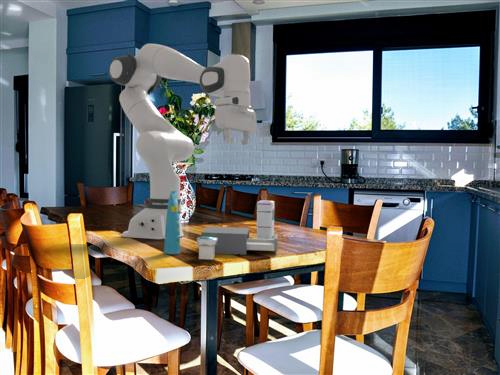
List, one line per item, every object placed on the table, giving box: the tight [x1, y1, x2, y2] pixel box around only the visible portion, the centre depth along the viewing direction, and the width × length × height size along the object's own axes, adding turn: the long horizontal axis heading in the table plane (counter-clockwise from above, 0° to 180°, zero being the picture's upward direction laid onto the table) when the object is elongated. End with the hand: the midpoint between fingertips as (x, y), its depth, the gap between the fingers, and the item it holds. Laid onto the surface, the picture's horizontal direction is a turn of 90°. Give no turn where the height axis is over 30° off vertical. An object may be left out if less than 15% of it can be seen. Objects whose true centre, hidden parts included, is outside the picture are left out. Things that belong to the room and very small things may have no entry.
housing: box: [200, 226, 250, 256], centre depth 147 cm, size 14×14×6 cm
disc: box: [196, 236, 218, 247], centre depth 133 cm, size 6×6×2 cm
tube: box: [163, 190, 181, 255], centre depth 138 cm, size 7×5×19 cm, turn 3°
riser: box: [198, 245, 216, 260], centre depth 133 cm, size 4×4×4 cm
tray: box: [246, 233, 279, 252], centre depth 146 cm, size 13×11×4 cm
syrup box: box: [256, 200, 275, 239], centre depth 170 cm, size 6×6×14 cm
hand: (237, 144), depth 153 cm, fingers open, 8 cm apart
